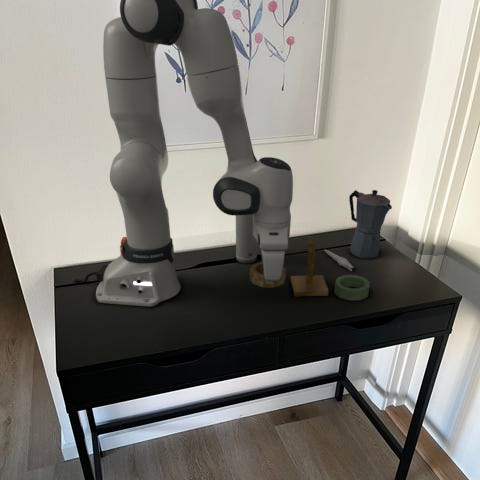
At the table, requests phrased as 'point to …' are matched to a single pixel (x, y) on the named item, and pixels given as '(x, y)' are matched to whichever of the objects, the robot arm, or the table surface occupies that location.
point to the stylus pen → (340, 260)
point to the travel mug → (245, 239)
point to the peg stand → (309, 278)
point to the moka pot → (368, 223)
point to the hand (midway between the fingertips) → (268, 280)
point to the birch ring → (259, 278)
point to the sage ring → (354, 293)
